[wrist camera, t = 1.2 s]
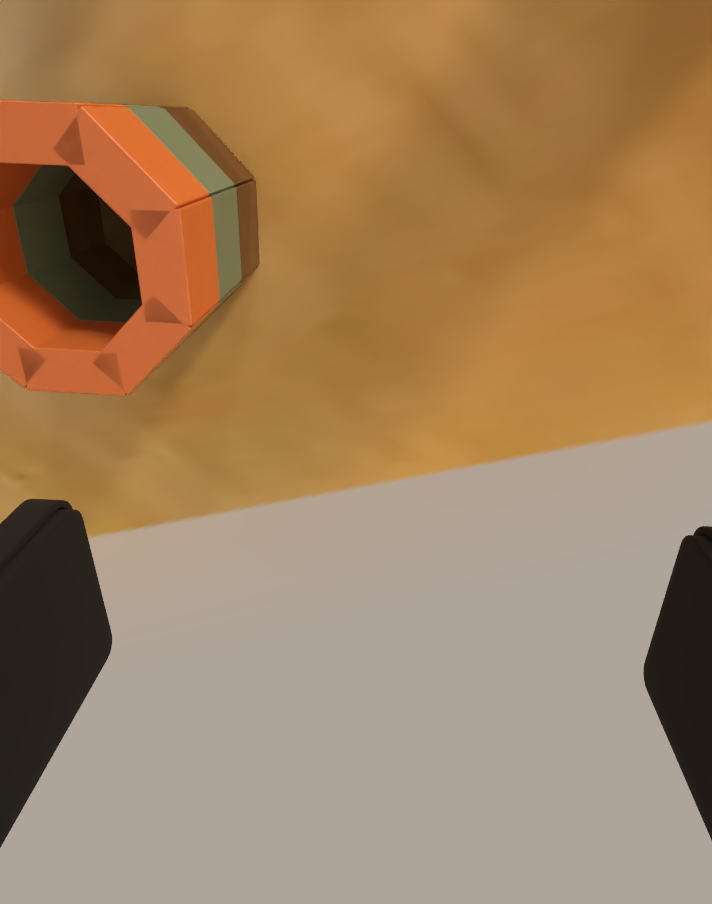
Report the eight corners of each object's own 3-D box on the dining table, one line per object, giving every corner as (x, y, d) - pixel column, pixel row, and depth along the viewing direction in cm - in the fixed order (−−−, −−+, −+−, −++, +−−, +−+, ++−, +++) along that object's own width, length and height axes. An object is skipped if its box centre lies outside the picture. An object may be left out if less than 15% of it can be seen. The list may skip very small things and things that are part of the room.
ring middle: (0, 100, 28) (-59, 98, 25) (232, 108, 28) (205, 107, 24) (50, 329, 34) (8, 354, 30) (245, 341, 33) (225, 367, 30)
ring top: (-59, 98, 25) (-136, 95, 21) (205, 107, 24) (169, 106, 21) (8, 354, 30) (-46, 385, 27) (225, 367, 30) (200, 401, 26)
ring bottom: (45, 102, 32) (0, 100, 28) (252, 109, 31) (232, 108, 28) (84, 309, 37) (50, 329, 34) (262, 319, 37) (245, 341, 33)
